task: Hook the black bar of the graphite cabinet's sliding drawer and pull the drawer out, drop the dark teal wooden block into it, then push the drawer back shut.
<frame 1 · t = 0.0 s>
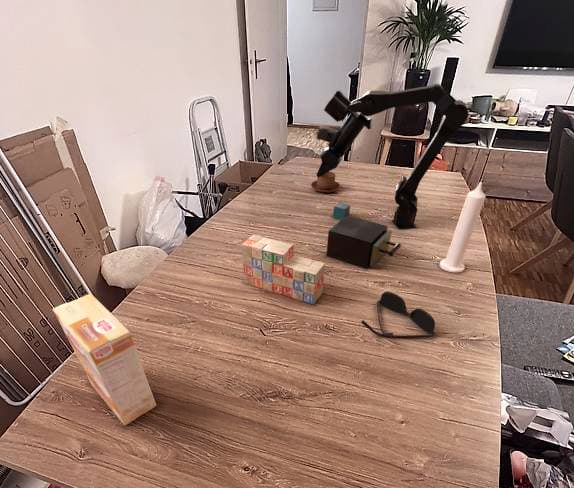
hand: (320, 171, 130), 15 cm above the table, tool tilted 35°, fingers open, 9 cm apart
stack of blocks: (282, 288, 103), on the table
block: (340, 217, 137), on the table
cup and saucer: (325, 190, 157), on the table
coffeecake box: (123, 394, 75), on the table
drawer: (369, 245, 113), point 4 cm above the table, slide at 0.5 cm
cabinet: (354, 253, 118), on the table
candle: (451, 267, 113), on the table
sunglasses: (389, 329, 91), on the table
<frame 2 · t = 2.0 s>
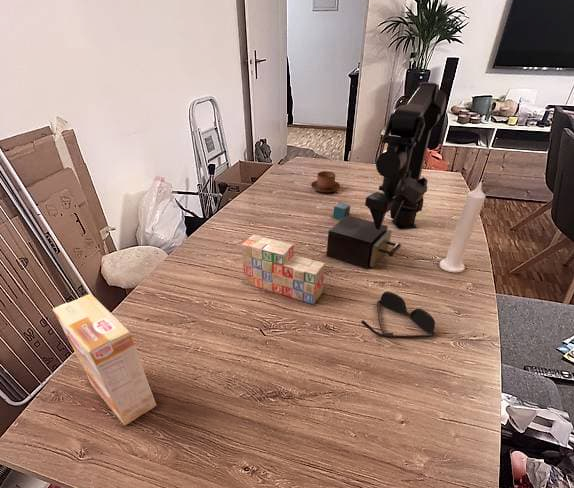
hand: (385, 223, 106), 12 cm above the table, tool pointing down, fingers open, 9 cm apart
nothing on the table moved.
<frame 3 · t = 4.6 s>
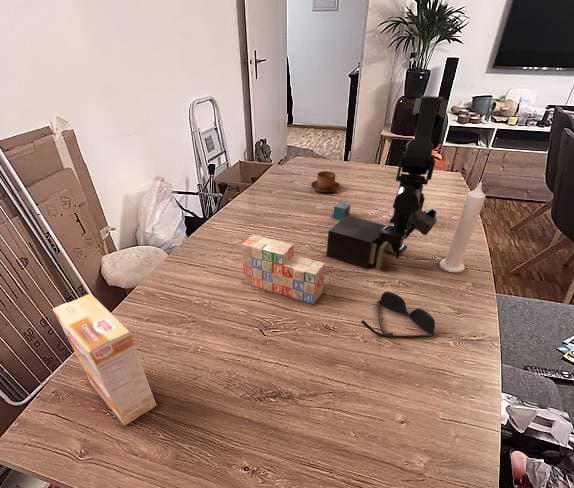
hand: (395, 252, 110), 4 cm above the table, tool pointing down, fingers closed, pressing on drawer
drawer: (375, 246, 112), point 4 cm above the table, slide at 2.4 cm, touching gripper
everything else where it was.
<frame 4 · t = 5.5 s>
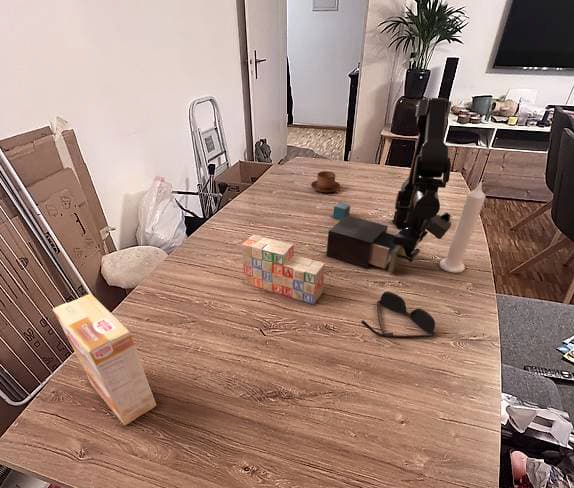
hand: (408, 256, 108), 4 cm above the table, tool pointing down, fingers closed, pressing on drawer
drawer: (388, 250, 111), point 4 cm above the table, slide at 6.3 cm, touching gripper
everything else where it was.
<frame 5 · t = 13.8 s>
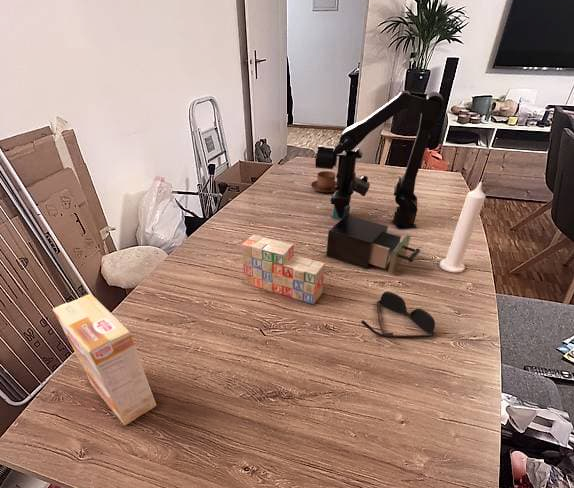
hand: (341, 214, 136), 1 cm above the table, tool pointing down, fingers closed on block, 5 cm apart
block: (340, 217, 137), on the table, touching gripper
drawer: (388, 250, 111), point 4 cm above the table, slide at 6.3 cm
everything else where it was.
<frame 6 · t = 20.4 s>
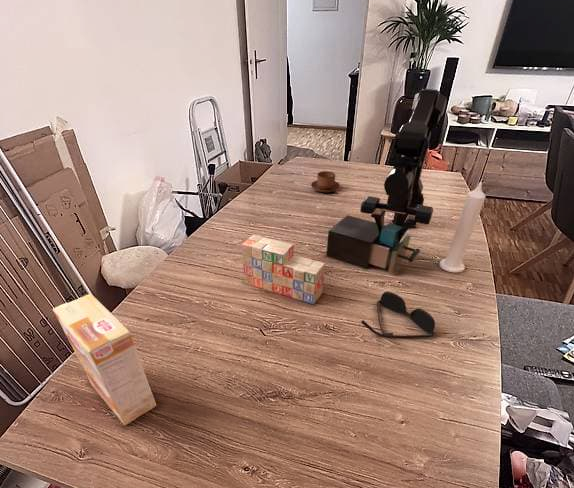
hand: (390, 238, 108), 8 cm above the table, tool pointing down, fingers closed on block, 5 cm apart
block: (389, 241, 109), point 7 cm above the table, touching gripper
everything else where it was.
when the fingers open (10 cm above the table, at t = 28.8 s): block drops 7 cm, resting on drawer.
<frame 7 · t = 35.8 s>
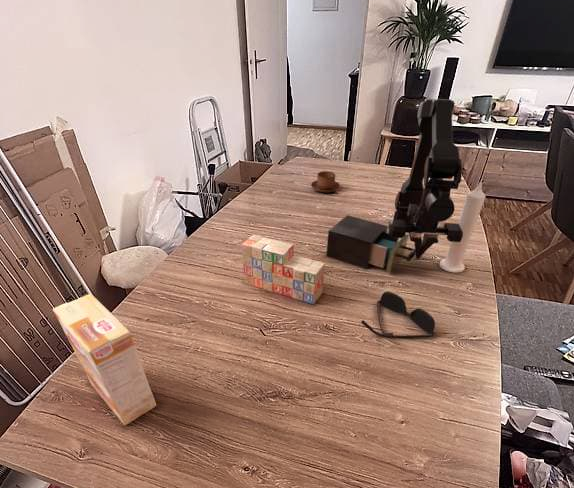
hand: (417, 258, 107), 5 cm above the table, tool pointing down, fingers closed
block: (384, 256, 112), point 2 cm above the table, touching drawer
drawer: (386, 249, 111), point 4 cm above the table, slide at 5.7 cm, touching block, gripper
everything else where it was.
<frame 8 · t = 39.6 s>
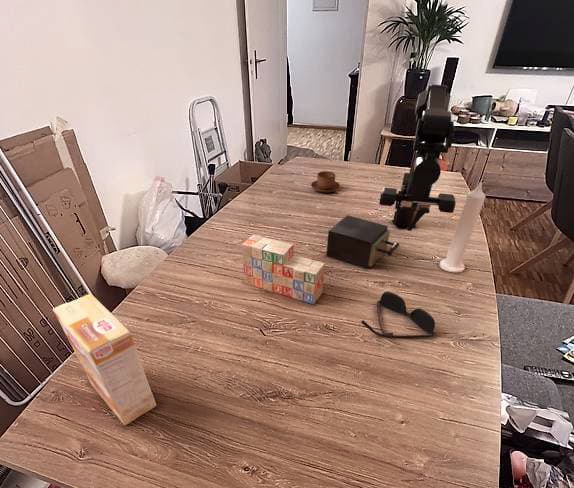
hand: (409, 230, 104), 12 cm above the table, tool pointing down, fingers closed
block: (366, 251, 115), point 2 cm above the table, touching drawer
drawer: (368, 244, 113), point 4 cm above the table, slide at 0.0 cm, touching block, cabinet
everything else where it was.
at the end: drawer pulled out 6.4 cm at the most during the clip, back to where it started at the end; block inside the target area in the cabinet (3.7 cm from its centre), point 2.0 cm above the cabinet's base; drawer slide at 0.0 cm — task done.
